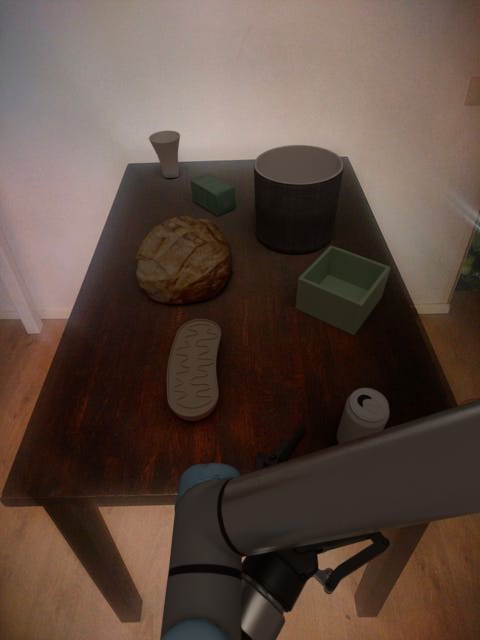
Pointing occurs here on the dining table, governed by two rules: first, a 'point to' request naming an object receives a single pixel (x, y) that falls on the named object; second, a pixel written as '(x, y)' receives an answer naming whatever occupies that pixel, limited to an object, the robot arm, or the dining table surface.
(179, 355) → the anatomical model
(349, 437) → the beverage can
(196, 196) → the box
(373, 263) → the waste bin
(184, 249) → the bread
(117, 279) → the dining table surface
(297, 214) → the planter
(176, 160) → the cup
